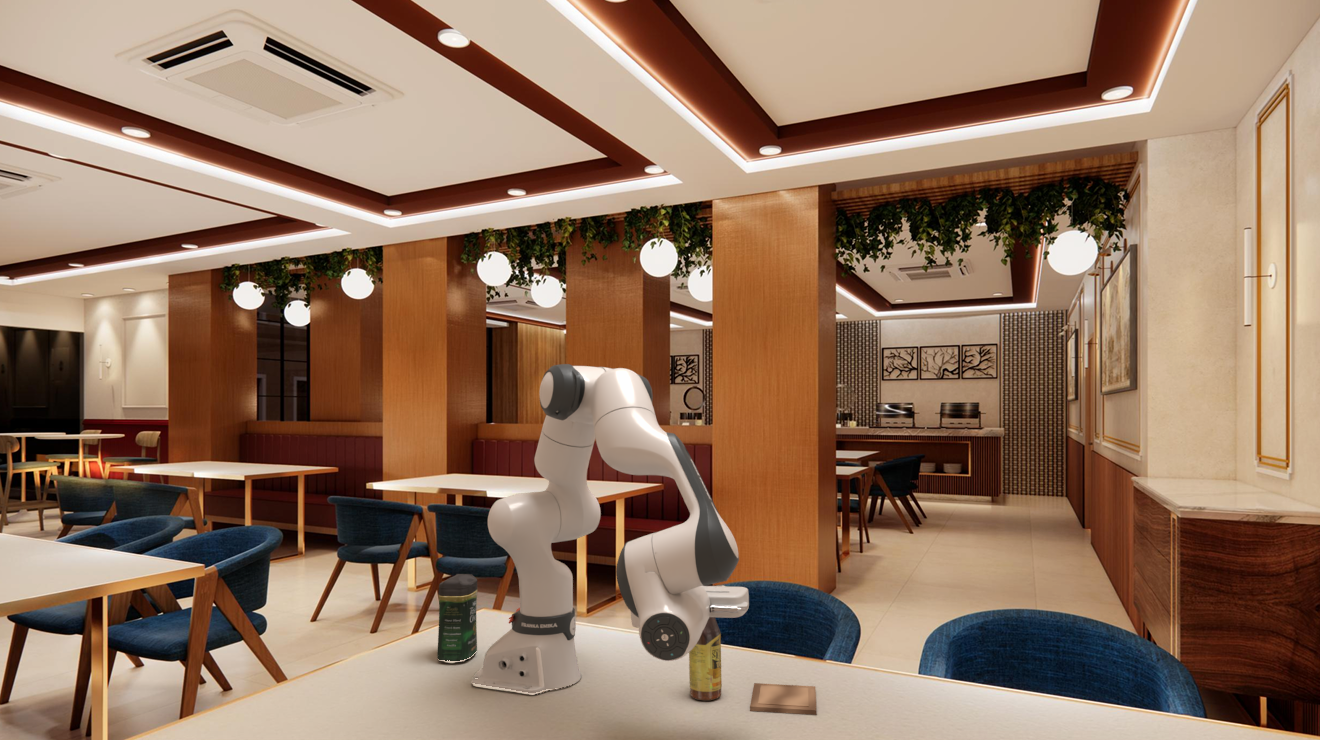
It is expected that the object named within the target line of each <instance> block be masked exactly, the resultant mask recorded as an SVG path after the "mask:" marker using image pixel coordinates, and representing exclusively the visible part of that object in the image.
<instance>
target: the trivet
mask: <svg viewBox="0 0 1320 740" xmlns="http://www.w3.org/2000/svg"><path fill="white" fill-rule="evenodd" d="M749 711H750V712H763V713H780V714H781V713H782V714H793V715H794V714H796V715H797V714H799V715H810V716H811V715H812V716H818V714H817V712H818V711H817V694H816V685H815V686H814V685H797V684H796V685H793V684H780V683H779V684H777V683H763V682H762V683H760V682H759V683H758V682H757V683H756V682H754V684H753V688H752V693H751V698H750V704H749Z"/></svg>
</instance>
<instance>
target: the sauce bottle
mask: <svg viewBox="0 0 1320 740" xmlns="http://www.w3.org/2000/svg"><path fill="white" fill-rule="evenodd" d="M719 627H720V626H719V625H718V621H717V619H716V617H709V619H708V621H707V624H706V626H705V628H704V630H703V631H702V634H701V636H700V639H699V640H698V642H697V644H696V645H695V647H694V648H693V649H692V650H691V651H690V652H689V653H688V656H689V657H688V658H689V659H688V661H689V664H688V666H689V667H688V669H689V673H688V674H689V688H690V689H689V690H690V691H689V693H690V696H691V697H692V699H695V700H696V701H697V700H698V701H707V702H708V701H713V700H717V699H719V698H720V697H721V695H722V687H723V686H722V684H723V683H722V639H721V638H722V636H721V635H722V633H721V630H720V628H719Z"/></svg>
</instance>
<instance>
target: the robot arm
mask: <svg viewBox="0 0 1320 740" xmlns="http://www.w3.org/2000/svg"><path fill="white" fill-rule="evenodd" d="M538 393H539V405H540V407H541V409H542V411H543V412H544V414H545V418H544V421H543V424H542V428H541V432H540V436H539V439H538V443H537V448H536V451H535V454H534V458H533V459H534V466H535V469H536V470H537V473H538V474H540V476H541V477H542V478H544V479H545V480H547V481H548V486H547V487H546V488H545V490H541V491H534V492H521V493H516V494H511V495H508V496H506V497H505V496H504V497H503V498H500V499H497V500H496V501H495V502H494V503H493V504H492V506H491V508H490V509H489V512H488V516H487V528H488V532H489V535H490V537H491V538H492V540H493V542H495V543H496V544H497V545H498V546H499V547H501V548H503V549H504V551H505V552H507V553H508V555H509V557H511V559H512V562H513V563H514V566H515V569H516V573H517V576H518V586H519V587H518V588H519V589H518V590H519V607H518V608H516V609H515V610H516V611H515V612H514V613H512V614H511V616H510V617H509V618H508V624H511V629H509V630H508V631H507V632H506V633H505V634H503V635H502V636H501V637H500V638H498V639H497V640H496V641H495V642H494V643H493V644H491V646H489V648H488V649H487V650H486V652H485V655H484V658H483V664H482V667H481V668H480V669H479V670H477V671H476V672H475V673H474V674H473V676H472V677H471V682H472V683H475V684H481V685H486V686H492V687H499V688H505V689H511V690H516V691H522V692H528V693H536V692H540V691H542V690H546V689H555V688H561V687H564V688H567V687H566V686H568V687H570V686H573V685H574V684H576V683H578V682H579V681H580V680H581V678H582V673H581V670H580V666H579V663H578V662H579V661H578V657H577V652H576V643H575V642H576V641H575V637H576V630H577V629H576V628H577V627H576V626H577V621H576V620H577V619H576V610H575V609H576V608H575V607H574V593H573V592H574V589H573V588H574V587H573V586H574V585H573V583H574V580H573V579H574V578H573V573H572V571H571V569H570V568H569V567H568V565H566V564H565V563H563V562H561V561H559V560H557V559H555V558H554V555H553V552H552V551H553V550H552V543H553V544H554V543H560V542H561V543H562V542H568V541H573V540H577V539H579V538H582V537H585V536H587V535H589V534H591V533H593V532H594V531H596V530H597V528H598V526H599V524H600V520H601V517H602V516H601V515H602V513H601V512H602V511H601V507H600V504H599V503H600V502H599V500H598V499H597V497H596V496H595V494H593V492H592V491H591V490H590V489H589V486H588V481H587V480H588V479H587V475H588V468H589V464H590V459H591V456H592V453H593V448H594V444H595V443H596V446H597V448H598V449H597V450H598V452H599V454H600V457H601V459H602V461H604V462H605V463H606V464H607V465H608V466H609V467H610V468H612V469H614V470H616V471H618V472H620V473H623V474H627V475H633V476H661V477H668V478H671V479H673V480H674V481H675V483H676V486H677V488H678V490H679V492H680V494H681V497H682V498H683V501H684V504H685V505H686V507H687V509H688V512H689V517H688V518H687V520H686V521H684V522H683V523H680V524H676V525H673V526H671V527H668V528H665V529H662V530H659V531H656V532H653V533H649V534H647V535H643V536H641V537H637V538H635V539H632V540H629V541H626V542H625V543H624V545H623V547H622V548H621V550H620V553H619V555H618V559H617V563H616V569H615V572H616V582H617V585H618V588H619V589H618V590H619V592H620V595H621V597H622V600H623V601H624V603H625V605H626V607H627V608H628V610H629V611H630V619H631V625H632V627H634V628H637V629H638V635H639V639H640V642H641V645H642V646H643V648H644V650H645V651H646V652H647V653H648V654H649V655H651V656H652V657H653V658H656V659H657V660H661V661H665V662H669V661H670V662H671V661H673V662H674V661H677V660H680V659H682V658H683V657H685V656H687V655H689V652H690V651H691V650H692V649H693V648H694V647H695V645H696V644H697V642H698V640H699V639H700V636H701V634H702V631H703V630H704V628H705V626H706V624H707V621H708V619H709V617H715V618H723V619H724V618H726V619H728V618H729V619H730V618H731V619H733V618H740V617H742V616H744V615H745V614H746V613H747V611H748V609H749V606H750V595H749V589H748V588H747V587H745V586H726V585H723V584H722V585H720V584H719V583H723V582H727V581H728V580H729V579H730V577H731V576H732V574H733V572H734V571H735V569H736V568H737V566H738V563H739V561H740V556H739V548H738V545H737V541H736V538H735V537H734V535H733V532H732V530H730V528H729V527H728V525H727V523H726V522H725V521H724V519H723V518H722V517H721V515H720V513H719V511H718V509H717V507H716V505H715V503H714V501H713V499H712V497H711V495H710V493H709V490H708V488H707V487H706V484H705V482H704V480H703V478H702V476H701V474H700V473H699V470H698V468H697V466H696V465H695V462H694V460H693V459H692V457H691V454H690V453H689V450H687V448H686V446H685V444H684V442H683V441H682V440H681V439H680V438H679V437H678V435H676V434H675V433H673V432H666V431H664V429H662V427H661V426H660V424H659V422H658V420H657V416H656V412H655V408H654V406H653V400H654V399H653V398H654V396H653V389H652V386H651V384H650V381H649V380H648V379H647V378H646V377H644V376H643V375H641V374H638V373H636V372H635V371H633V370H631V369H629V368H625V367H624V368H623V367H618V368H616V367H615V368H611V367H605V366H589V365H588V366H587V365H572V364H569V363H562V364H553V365H552V366H550V367H549V368H548V370H546V372H544V374H543V377H542V378H541V383H540V386H539V392H538ZM715 584H719V585H716V586H715ZM475 678H478V679H475ZM572 684H573V685H572ZM569 685H570V686H569ZM561 689H562V688H561Z"/></svg>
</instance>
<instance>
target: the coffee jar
mask: <svg viewBox="0 0 1320 740" xmlns="http://www.w3.org/2000/svg"><path fill="white" fill-rule="evenodd" d="M477 598H478V579H477V578H476V576H474V575H473V574H472V573H471V574H470V573H456V574H455V575H454V576H453V575H452V576H451V577H449V578H447V579H446V580H443V581H441V582H440V583H439V584H438V613H439V614H438V635H437V637H438V638H437V652H436V653H437V655H436V656H437V657H436V659H437V658H438V659H439V660H445V661H447V660H448V661H449V660H450V661H460V660H464V659H467V658H469V657H471V656H472V655H473V654H474V653H475V652H476V651H477V652H478V634H477V600H478V599H477ZM477 652H476V653H477ZM438 659H437V660H438Z"/></svg>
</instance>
